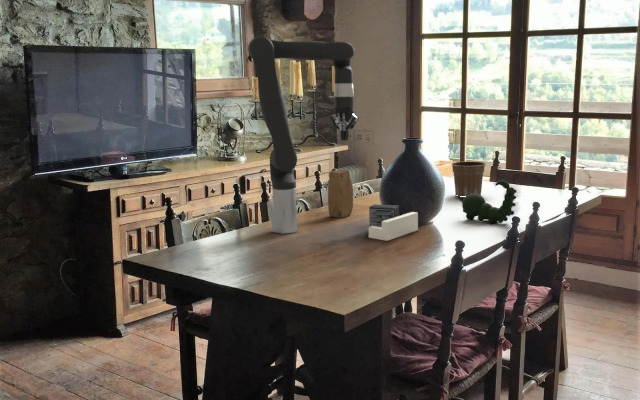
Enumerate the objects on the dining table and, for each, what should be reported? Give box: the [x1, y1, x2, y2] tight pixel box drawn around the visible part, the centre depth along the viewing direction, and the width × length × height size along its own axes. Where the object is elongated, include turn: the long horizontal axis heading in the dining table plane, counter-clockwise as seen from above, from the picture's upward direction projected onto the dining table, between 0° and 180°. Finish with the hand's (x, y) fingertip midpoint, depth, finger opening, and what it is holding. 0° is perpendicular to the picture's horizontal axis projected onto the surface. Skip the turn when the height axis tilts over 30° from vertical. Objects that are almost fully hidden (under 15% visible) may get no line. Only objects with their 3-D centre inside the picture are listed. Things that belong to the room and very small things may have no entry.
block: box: [327, 168, 354, 219], centre depth 295 cm, size 11×8×20 cm
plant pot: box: [450, 160, 486, 196], centre depth 334 cm, size 16×16×16 cm
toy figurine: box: [457, 180, 517, 224], centre depth 279 cm, size 9×19×25 cm
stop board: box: [368, 211, 419, 241], centre depth 262 cm, size 20×8×7 cm, turn 139°
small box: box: [368, 203, 400, 227], centre depth 265 cm, size 11×6×10 cm, turn 70°
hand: (344, 140), depth 268 cm, fingers closed
